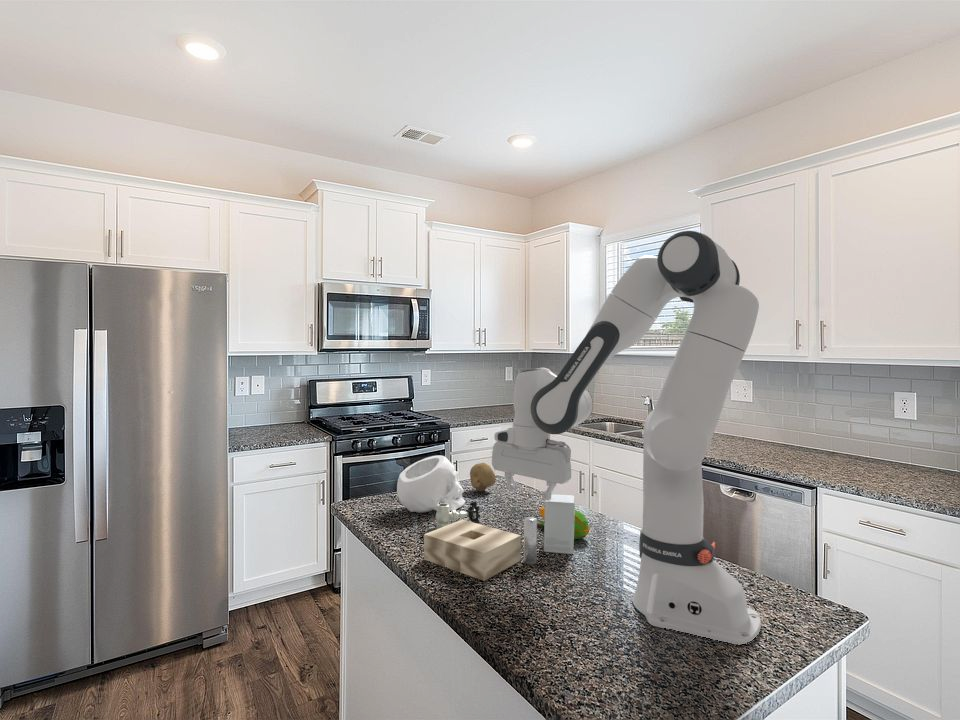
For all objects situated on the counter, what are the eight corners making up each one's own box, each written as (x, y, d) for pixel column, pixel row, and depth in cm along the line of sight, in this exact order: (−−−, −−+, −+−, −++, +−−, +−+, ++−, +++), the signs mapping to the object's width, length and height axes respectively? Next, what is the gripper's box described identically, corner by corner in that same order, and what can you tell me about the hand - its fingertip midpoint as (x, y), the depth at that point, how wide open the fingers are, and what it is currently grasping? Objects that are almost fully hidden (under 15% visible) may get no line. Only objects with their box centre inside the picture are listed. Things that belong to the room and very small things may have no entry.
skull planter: (480, 503, 162) (456, 451, 158) (428, 543, 154) (400, 489, 149) (460, 492, 174) (436, 444, 169) (410, 529, 165) (384, 479, 161)
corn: (576, 516, 132) (529, 496, 150) (573, 546, 132) (527, 523, 150) (597, 513, 136) (549, 495, 153) (595, 543, 136) (547, 521, 153)
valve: (439, 533, 141) (480, 528, 146) (439, 509, 141) (480, 504, 146) (432, 525, 147) (471, 520, 152) (432, 502, 147) (472, 498, 152)
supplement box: (573, 554, 127) (574, 503, 127) (543, 552, 129) (543, 501, 128) (574, 543, 134) (575, 494, 134) (545, 541, 136) (546, 493, 136)
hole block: (520, 560, 123) (520, 535, 123) (484, 580, 112) (484, 553, 112) (462, 542, 134) (462, 519, 134) (423, 559, 123) (424, 534, 123)
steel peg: (538, 561, 123) (539, 519, 123) (532, 565, 120) (532, 522, 120) (528, 558, 125) (528, 516, 125) (521, 561, 122) (521, 519, 122)
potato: (497, 488, 187) (497, 461, 187) (493, 495, 178) (493, 466, 178) (472, 487, 188) (472, 459, 188) (467, 493, 180) (467, 465, 180)
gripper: (577, 441, 118) (575, 501, 119) (504, 429, 131) (502, 484, 131) (563, 444, 113) (561, 507, 114) (488, 432, 126) (487, 489, 126)
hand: (529, 495), depth 123 cm, fingers open, 8 cm apart
